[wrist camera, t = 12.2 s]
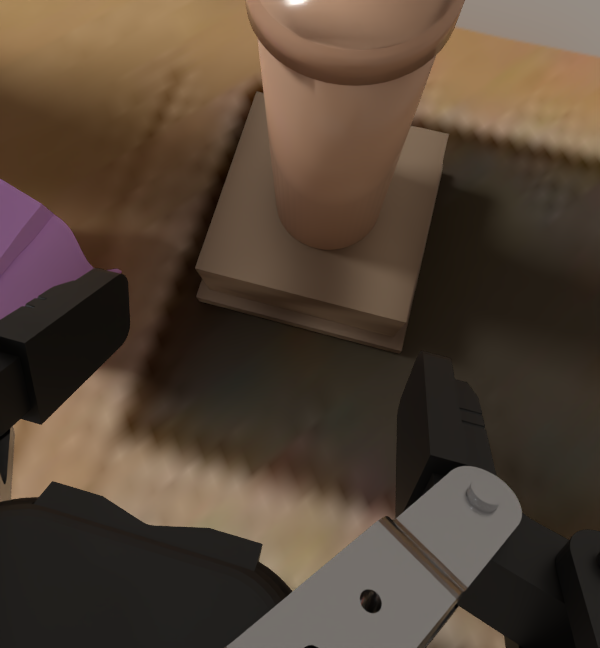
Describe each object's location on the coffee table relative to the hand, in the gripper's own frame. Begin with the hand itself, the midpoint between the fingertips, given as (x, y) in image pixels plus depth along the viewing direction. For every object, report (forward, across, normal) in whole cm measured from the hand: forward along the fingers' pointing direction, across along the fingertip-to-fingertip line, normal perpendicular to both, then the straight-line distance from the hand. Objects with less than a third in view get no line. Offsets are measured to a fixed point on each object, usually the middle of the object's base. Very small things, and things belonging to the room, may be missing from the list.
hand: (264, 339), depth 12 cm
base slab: (+14, 0, +2) cm, 15 cm away
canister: (+11, 0, -1) cm, 11 cm away
